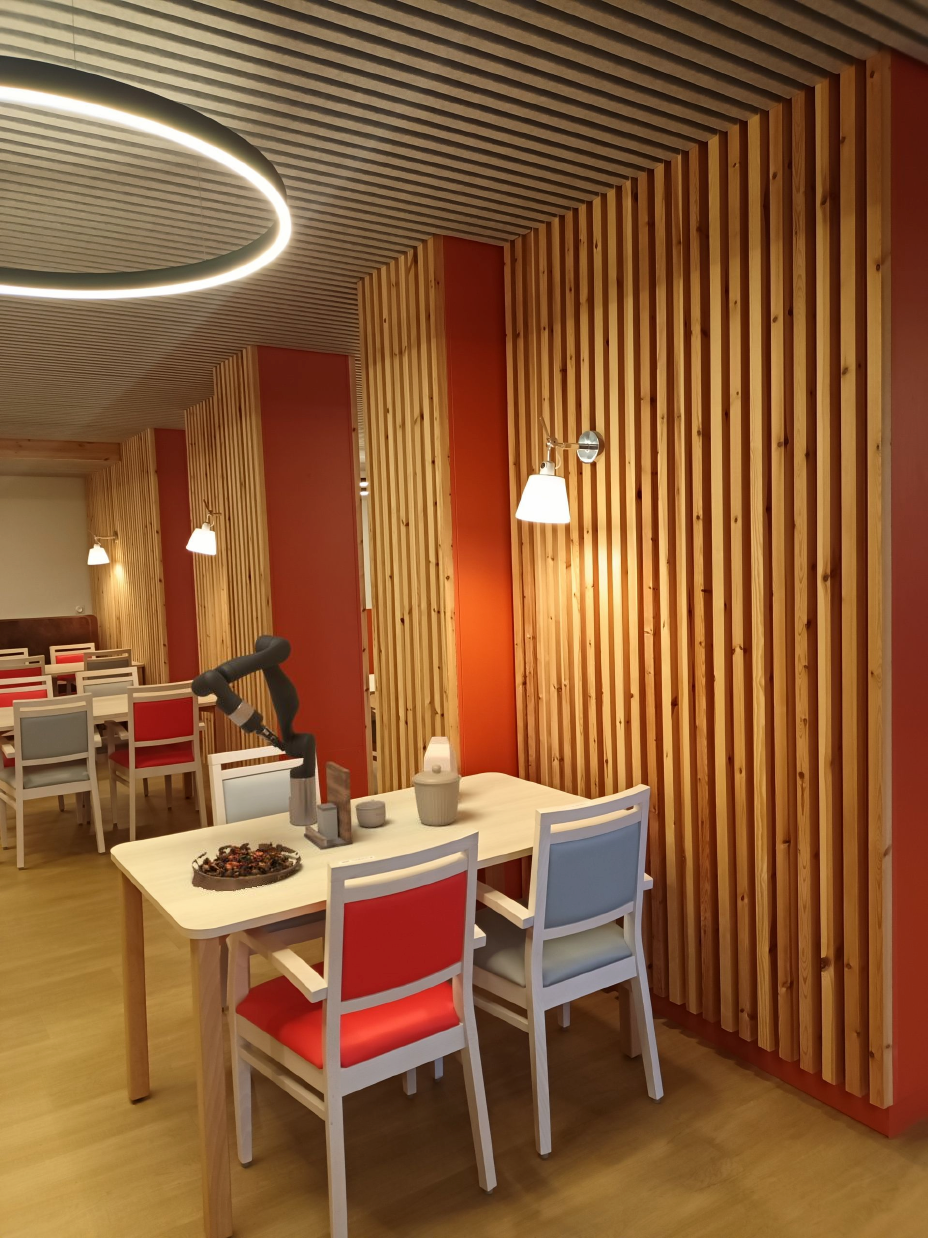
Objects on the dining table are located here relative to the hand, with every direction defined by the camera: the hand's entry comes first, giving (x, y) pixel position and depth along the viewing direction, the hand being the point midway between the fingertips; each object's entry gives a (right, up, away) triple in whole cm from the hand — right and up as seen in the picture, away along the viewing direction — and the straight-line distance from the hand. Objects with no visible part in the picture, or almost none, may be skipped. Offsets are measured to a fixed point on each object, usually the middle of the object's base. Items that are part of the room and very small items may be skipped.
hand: (281, 747), depth 299 cm
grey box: (+13, -33, +13) cm, 38 cm away
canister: (+51, -32, +31) cm, 67 cm away
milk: (+51, -30, +59) cm, 84 cm away
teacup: (+27, -33, +31) cm, 52 cm away
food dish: (-8, -37, -18) cm, 41 cm away
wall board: (+13, -34, +13) cm, 38 cm away
